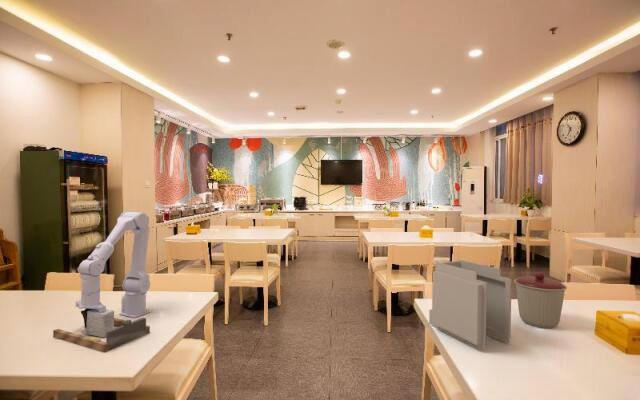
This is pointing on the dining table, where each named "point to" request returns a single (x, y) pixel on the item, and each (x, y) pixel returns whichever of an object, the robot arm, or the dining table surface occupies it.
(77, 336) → the brown piece
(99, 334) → the medicine box
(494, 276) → the grey napkin holder
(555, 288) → the canister
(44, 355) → the dining table surface
